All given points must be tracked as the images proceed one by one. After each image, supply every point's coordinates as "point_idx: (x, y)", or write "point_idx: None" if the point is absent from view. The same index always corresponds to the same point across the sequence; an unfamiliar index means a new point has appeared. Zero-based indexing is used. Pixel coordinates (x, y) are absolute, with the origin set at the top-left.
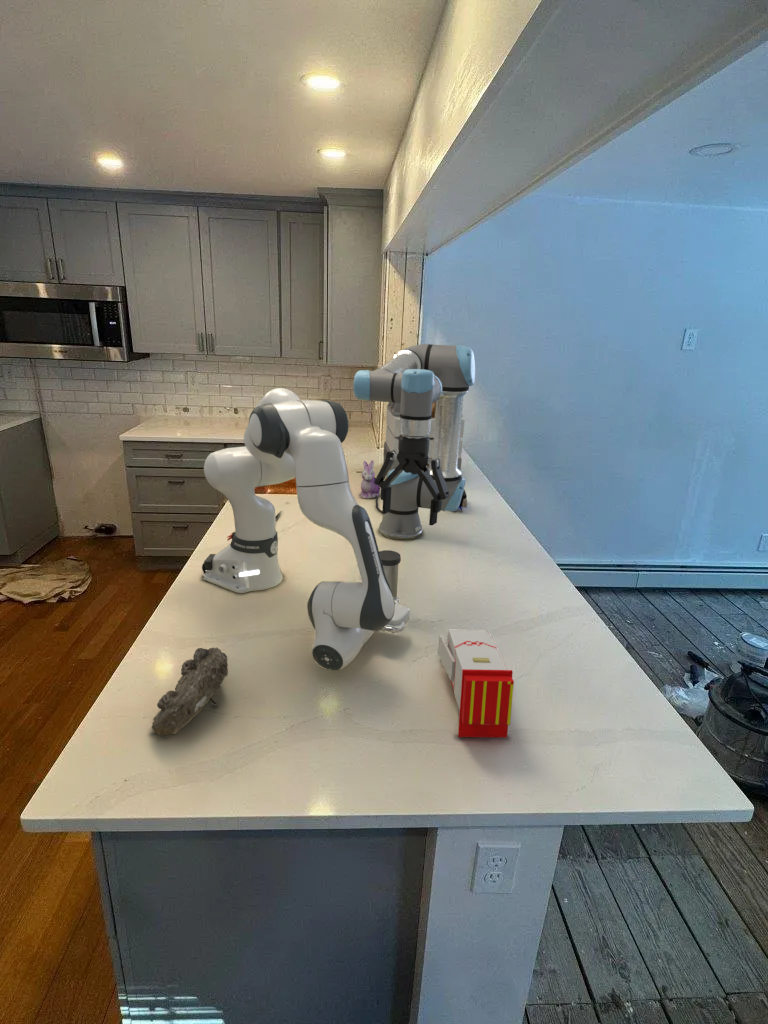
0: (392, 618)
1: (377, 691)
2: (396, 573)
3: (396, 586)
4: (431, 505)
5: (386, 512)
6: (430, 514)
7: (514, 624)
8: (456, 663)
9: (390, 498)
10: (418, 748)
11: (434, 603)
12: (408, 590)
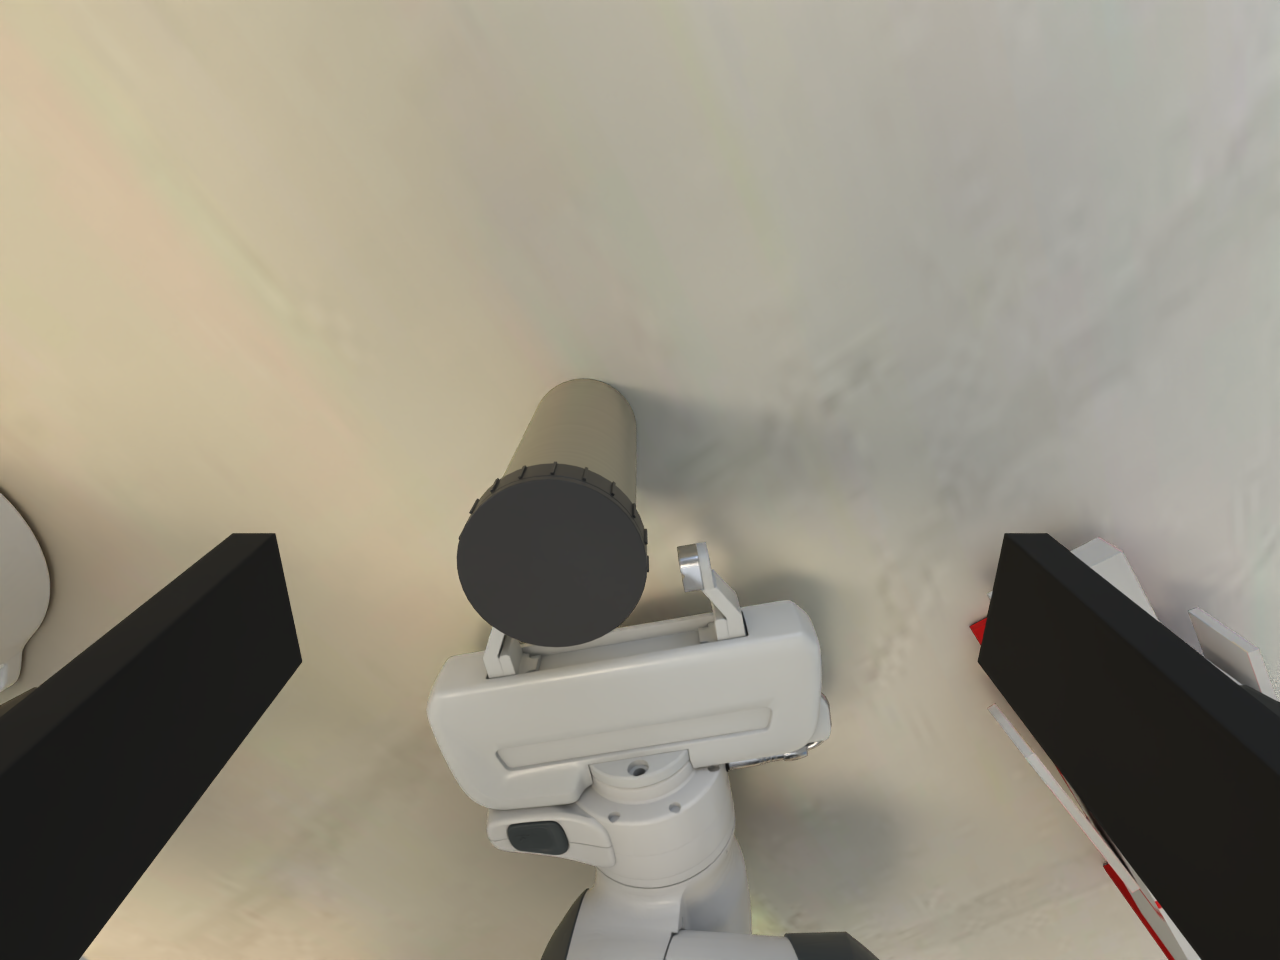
0: (787, 747)
1: (834, 838)
2: None
3: (635, 471)
4: (1191, 922)
5: (288, 629)
6: (1072, 775)
7: (1229, 173)
8: (1157, 916)
9: (142, 668)
10: (1017, 929)
11: (768, 226)
12: (573, 174)
